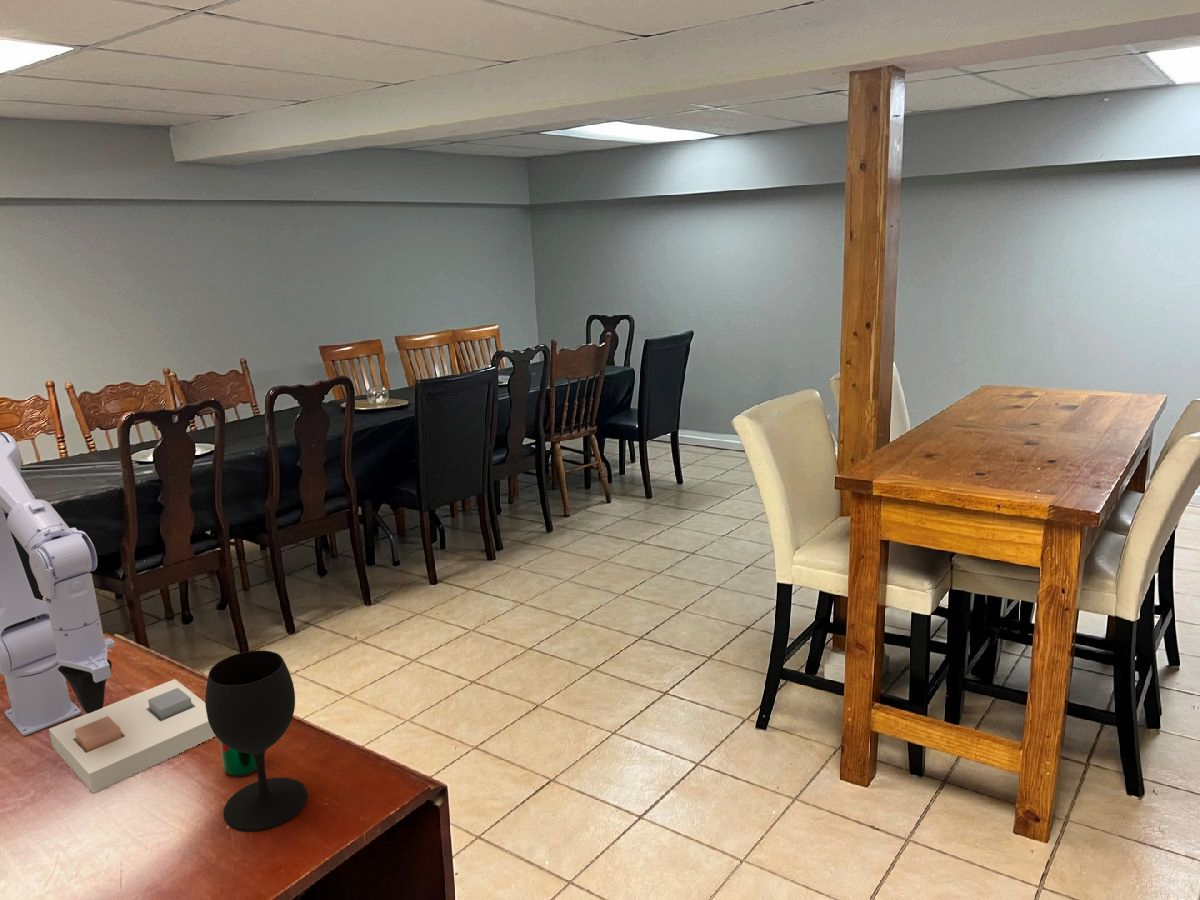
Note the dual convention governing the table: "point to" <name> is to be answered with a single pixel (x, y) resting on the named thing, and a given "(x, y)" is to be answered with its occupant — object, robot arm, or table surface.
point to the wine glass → (255, 733)
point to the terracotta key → (98, 734)
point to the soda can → (237, 761)
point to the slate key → (169, 704)
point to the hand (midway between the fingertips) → (93, 709)
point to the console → (132, 737)
